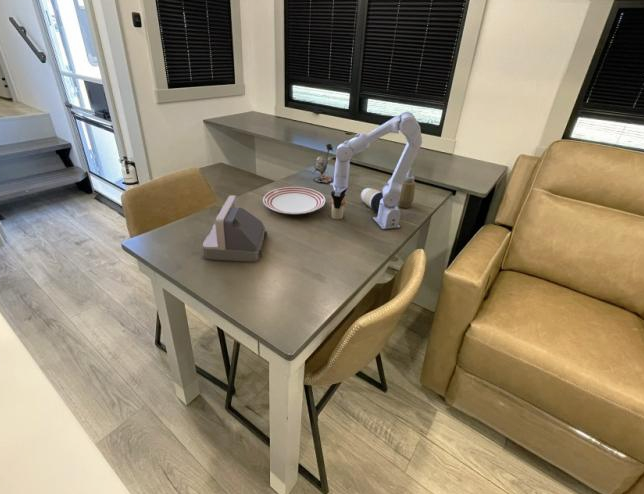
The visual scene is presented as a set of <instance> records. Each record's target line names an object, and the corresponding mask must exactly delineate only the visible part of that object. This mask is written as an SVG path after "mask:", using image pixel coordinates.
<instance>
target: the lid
mask: <svg viewBox="0 0 644 494" xmlns="http://www.w3.org/2000/svg"><path fill="white" fill-rule="evenodd" d="M332 204H333V205H334V201H333V198H332V197H331V205H332ZM343 205H344V206H345V205H346V199H345V197H344V198H343V200H342V202H341V206H343Z"/></svg>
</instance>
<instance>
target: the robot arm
mask: <svg viewBox="0 0 644 494" xmlns="http://www.w3.org/2000/svg"><path fill="white" fill-rule="evenodd" d="M390 133H392V134H398V135H399V134H400V133H401V135H403V136H404V137H405V139H406V141H407V142H406V144H405V146H404V149H403V151H402V153H401V155H400V157H399V159H398V162H397V164H396V166H395V168H394V170H393V173H392V175H391V178H390V179H388V182H387V183H386V184H385V185H383V187H382V189H381V192H382V194H383V198H382V199H381V200H380V205H379V211H378V212H377V216H373V217H372V219H373V220H374V221H375V222H376V224H378V226H379V227H380V228H381V230H389V229H396V228H397V229H398V228H401V225H400V219H401V215H402V214H401V211H400V209H399V206H398V202H399V195H400V192H401V188H402V184H403V182H404V180H405V178H406V176H407V174H408V171H409V169H410V168H412V166H413V164H414V163H413V162H414V161H415V159H416V156H417V155H418V152H419V151H420V149H421V147H422V146H421V145H422V143H423V137H422V131H421V126H420V124H419V122H418V120H417V119H416V117H415V115H414V114H413V113H412V112H409V111H405V112H402V113H401V114H400V115H396V116H394V117H392V118H391V119H389V120H387V121H386V122H384V123H382V124H381V125H379V126H378V127H376V128H375V129H373V130H371V131H369V132H368V133H363V132H362V133H361V132H360V133H356V134H355V136H354V137H353V138H351V139H348V140H345V141H344V142H342V143H340V144H339V145H338V146H337V148H336V151H335V156H336V157H335V163H334V174H333V182H330V183H329V185H330V186H331V187H332V188H333V190H332V191H331V192H330V196H331V199H332V198H333V201H334V208H336V209H340V206H341V202H342V200H343V198H344V199H345V197H346V192H347V190H348V189H349V176H350V167H351V164H350V161H351V158H352V156H355V155H357V154H358V153H361V152H363V151H364V150H366V149H368V148H370V145H371V143H372V142H374V141H375V140H376V141H377V140H378V139H380V138H383V137H384V136H386V135H388V134H390Z"/></svg>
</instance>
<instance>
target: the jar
mask: <svg viewBox="0 0 644 494" xmlns="http://www.w3.org/2000/svg"><path fill="white" fill-rule="evenodd" d="M330 211H331V212H330V217H331V218H332V219H333V220H342V219H344V214H345V205H343V206H340V209H336V208H334V205H333V204H332V203H331V210H330Z"/></svg>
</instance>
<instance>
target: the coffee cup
mask: <svg viewBox="0 0 644 494" xmlns="http://www.w3.org/2000/svg"><path fill="white" fill-rule="evenodd" d="M360 198H361V200H362V201H363V202H364V203H365V204H366V205H367V206H368V208H370V209H371V210H372V211H373V212H375V213H378V211H379V205H380V200H381V199H382V198H383V194H382V190H378V189H374V188H371V187H366V188H364V189H363V190H361V193H360Z"/></svg>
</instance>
